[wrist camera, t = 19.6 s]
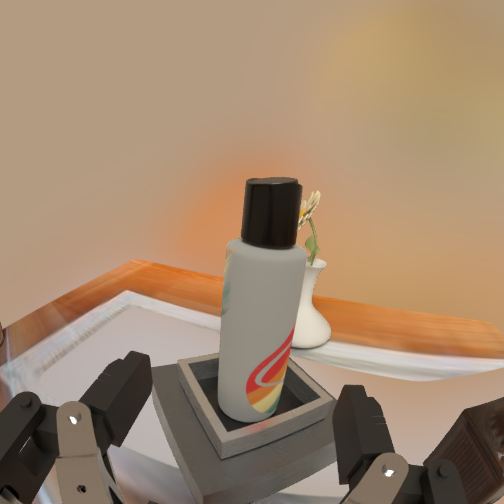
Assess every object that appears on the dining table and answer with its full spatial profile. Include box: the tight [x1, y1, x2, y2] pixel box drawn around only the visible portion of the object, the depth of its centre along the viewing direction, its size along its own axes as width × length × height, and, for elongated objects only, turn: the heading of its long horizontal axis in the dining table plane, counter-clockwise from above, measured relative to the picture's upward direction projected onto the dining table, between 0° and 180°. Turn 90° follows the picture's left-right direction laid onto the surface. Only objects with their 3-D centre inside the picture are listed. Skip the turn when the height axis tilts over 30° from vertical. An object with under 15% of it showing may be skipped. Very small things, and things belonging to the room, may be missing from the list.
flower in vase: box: [291, 191, 331, 348], centre depth 44 cm, size 13×11×25 cm
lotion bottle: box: [218, 177, 307, 422], centre depth 21 cm, size 6×6×20 cm
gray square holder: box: [151, 353, 337, 504], centre depth 25 cm, size 16×16×9 cm
